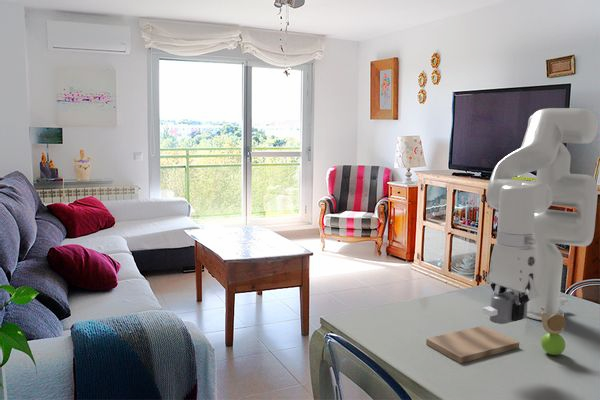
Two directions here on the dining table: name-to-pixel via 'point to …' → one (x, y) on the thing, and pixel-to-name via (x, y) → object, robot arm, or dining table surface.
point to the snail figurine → (553, 333)
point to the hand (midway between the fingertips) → (509, 315)
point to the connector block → (502, 308)
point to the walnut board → (472, 344)
